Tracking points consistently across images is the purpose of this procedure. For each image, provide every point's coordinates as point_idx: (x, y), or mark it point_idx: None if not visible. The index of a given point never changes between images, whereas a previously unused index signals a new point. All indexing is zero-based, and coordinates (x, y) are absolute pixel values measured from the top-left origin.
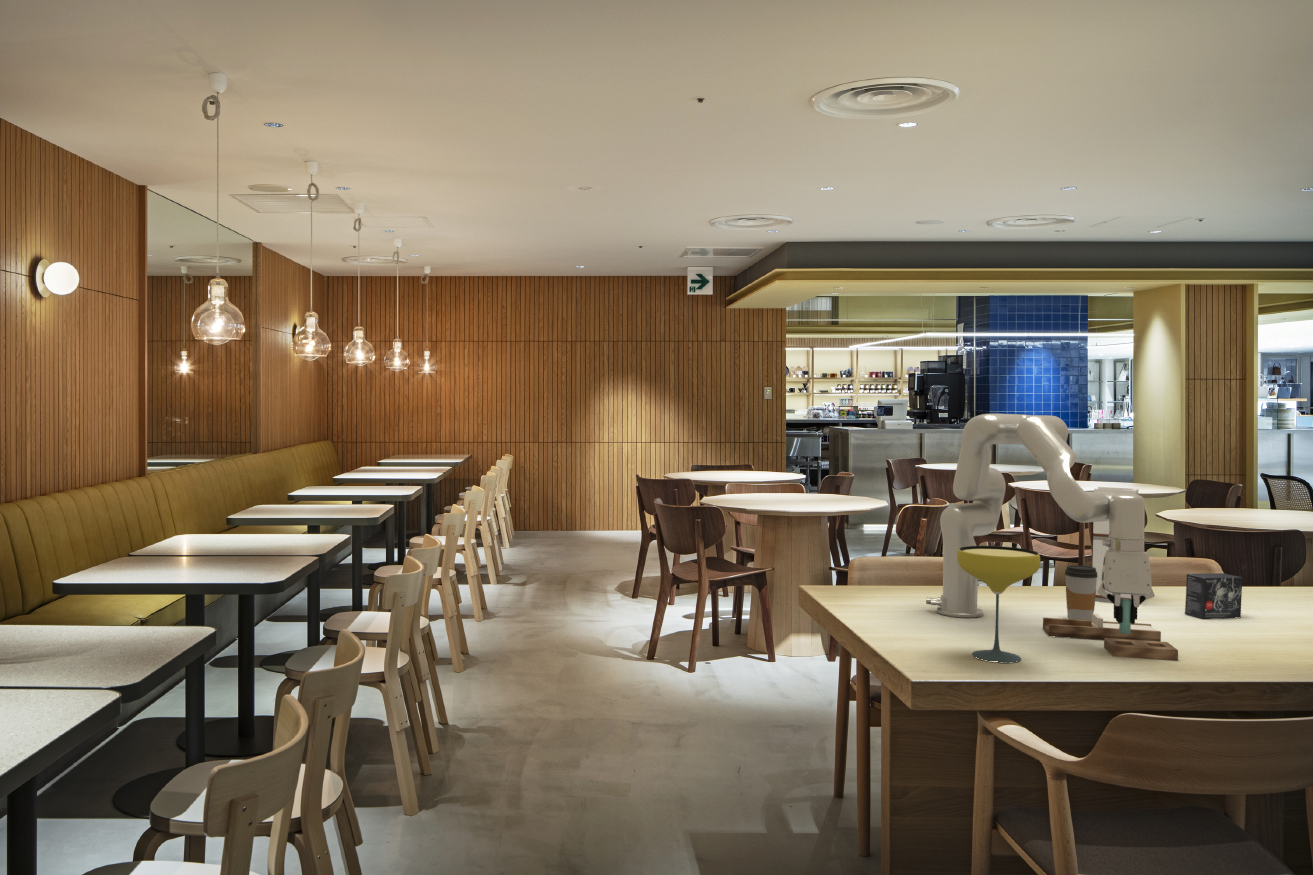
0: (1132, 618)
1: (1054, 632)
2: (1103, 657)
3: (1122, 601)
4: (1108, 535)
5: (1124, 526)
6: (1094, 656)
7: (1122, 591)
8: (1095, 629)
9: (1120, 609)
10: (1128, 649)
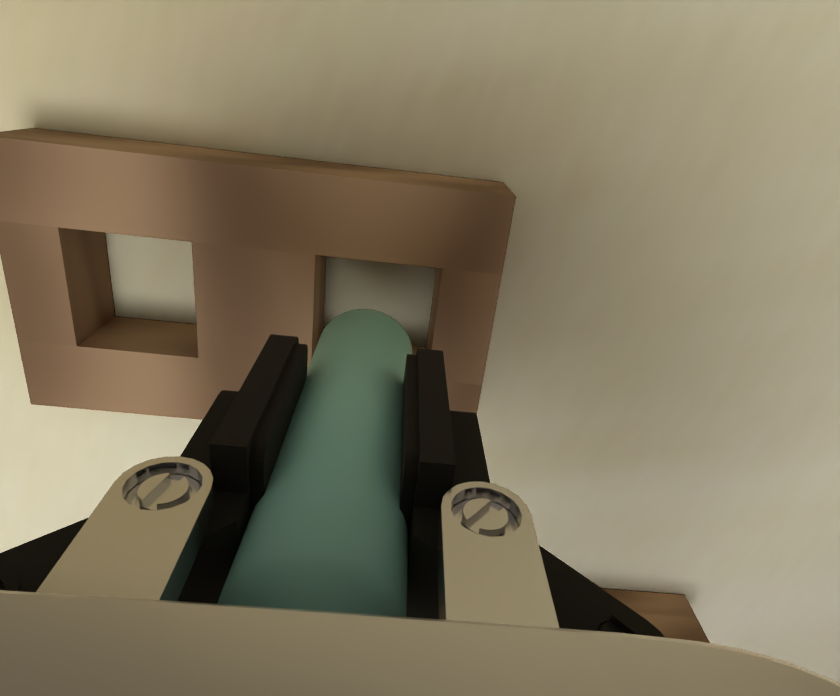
0: (287, 363)
1: (667, 614)
2: (594, 121)
3: (389, 561)
4: None
5: None
6: (651, 142)
7: (474, 661)
8: None
9: (439, 433)
10: (389, 177)
